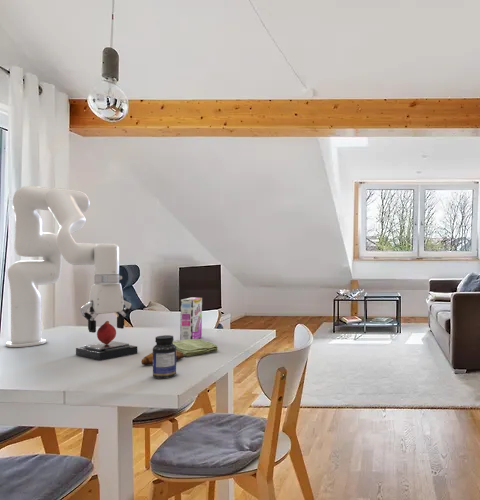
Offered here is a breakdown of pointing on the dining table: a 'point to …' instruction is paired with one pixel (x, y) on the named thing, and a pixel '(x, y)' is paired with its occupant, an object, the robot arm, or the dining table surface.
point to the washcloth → (194, 347)
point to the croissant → (149, 358)
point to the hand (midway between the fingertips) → (106, 330)
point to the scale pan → (105, 346)
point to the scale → (106, 352)
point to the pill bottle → (164, 357)
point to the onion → (106, 333)
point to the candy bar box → (191, 318)
